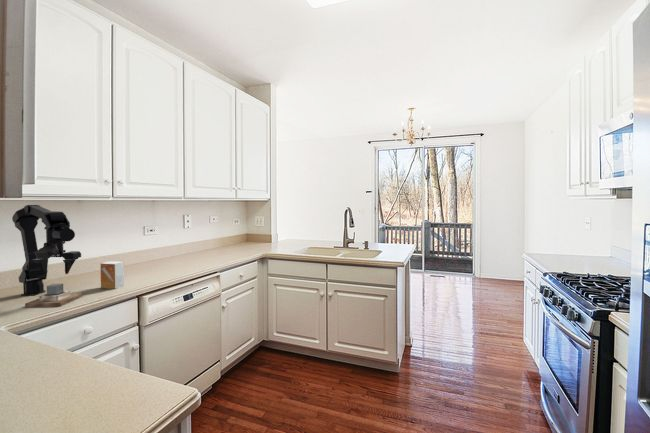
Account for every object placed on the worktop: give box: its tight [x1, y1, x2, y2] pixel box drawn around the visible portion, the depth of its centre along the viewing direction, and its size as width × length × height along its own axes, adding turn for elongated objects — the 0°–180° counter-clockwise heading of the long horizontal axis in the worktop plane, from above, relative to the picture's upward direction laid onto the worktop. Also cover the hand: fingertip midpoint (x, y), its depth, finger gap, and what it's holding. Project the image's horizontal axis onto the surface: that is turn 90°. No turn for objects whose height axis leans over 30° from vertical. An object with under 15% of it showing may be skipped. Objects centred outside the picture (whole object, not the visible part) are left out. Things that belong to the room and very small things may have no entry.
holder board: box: [24, 290, 84, 308], centre depth 139 cm, size 14×14×4 cm
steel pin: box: [46, 283, 64, 296], centre depth 139 cm, size 4×4×6 cm
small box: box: [100, 260, 125, 290], centre depth 162 cm, size 8×6×13 cm
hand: (55, 274), depth 141 cm, fingers open, 9 cm apart
